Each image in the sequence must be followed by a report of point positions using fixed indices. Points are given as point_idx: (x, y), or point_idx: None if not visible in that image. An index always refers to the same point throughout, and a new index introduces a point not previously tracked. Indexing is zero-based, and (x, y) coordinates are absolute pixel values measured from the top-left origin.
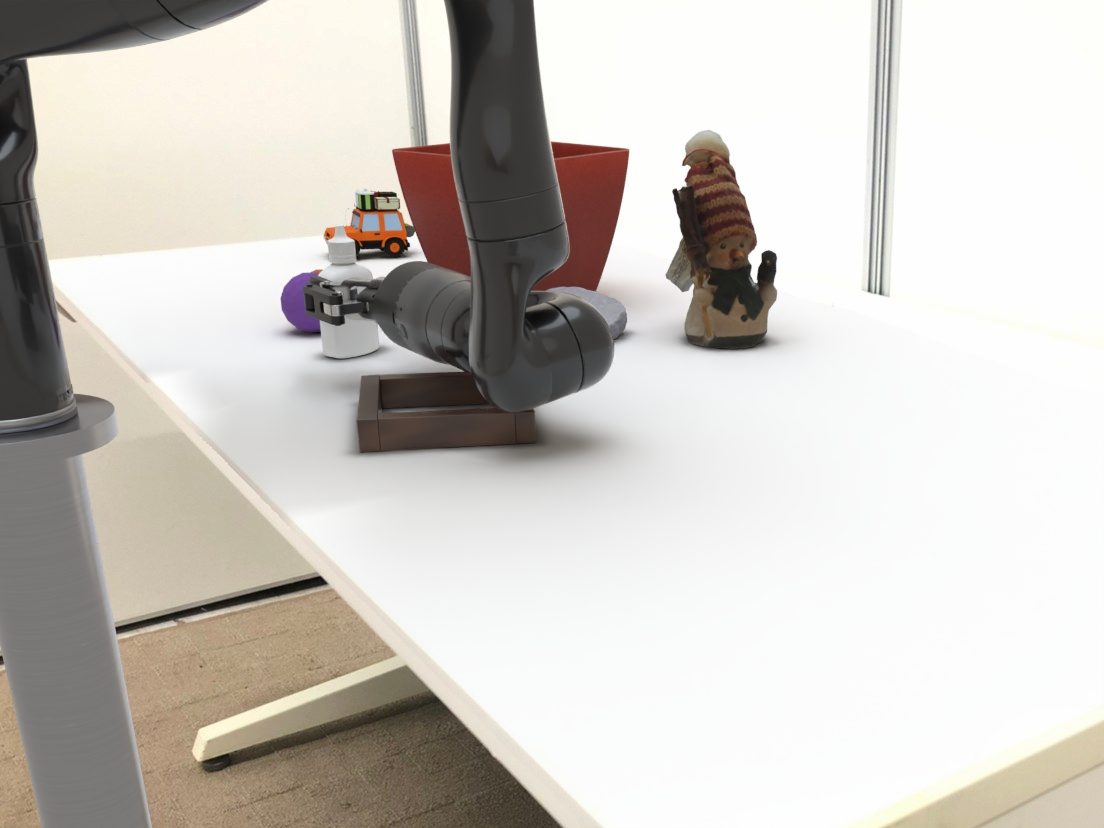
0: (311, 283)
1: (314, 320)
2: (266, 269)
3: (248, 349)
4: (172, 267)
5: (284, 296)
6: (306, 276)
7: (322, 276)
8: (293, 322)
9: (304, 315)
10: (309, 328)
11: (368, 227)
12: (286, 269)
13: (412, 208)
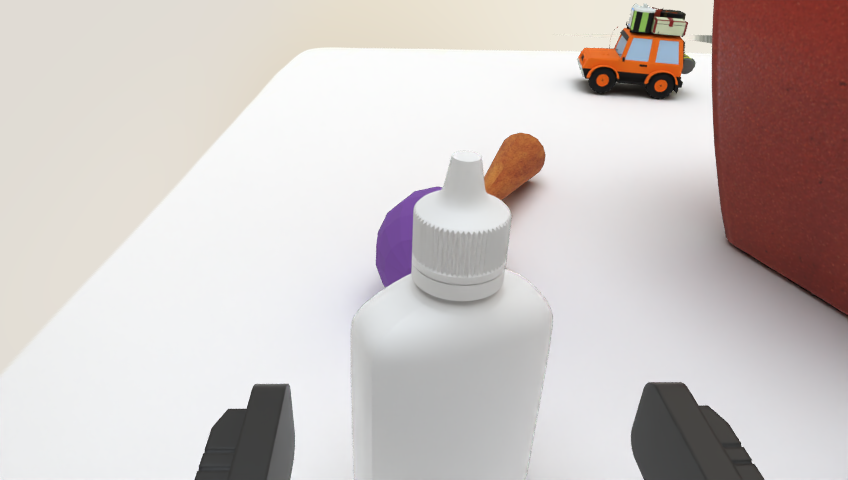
0: (223, 441)
1: None
2: (493, 93)
3: (254, 355)
4: (402, 72)
5: (379, 236)
6: None
7: (363, 325)
8: None
9: None
10: None
11: (634, 55)
12: (515, 97)
13: (725, 61)
